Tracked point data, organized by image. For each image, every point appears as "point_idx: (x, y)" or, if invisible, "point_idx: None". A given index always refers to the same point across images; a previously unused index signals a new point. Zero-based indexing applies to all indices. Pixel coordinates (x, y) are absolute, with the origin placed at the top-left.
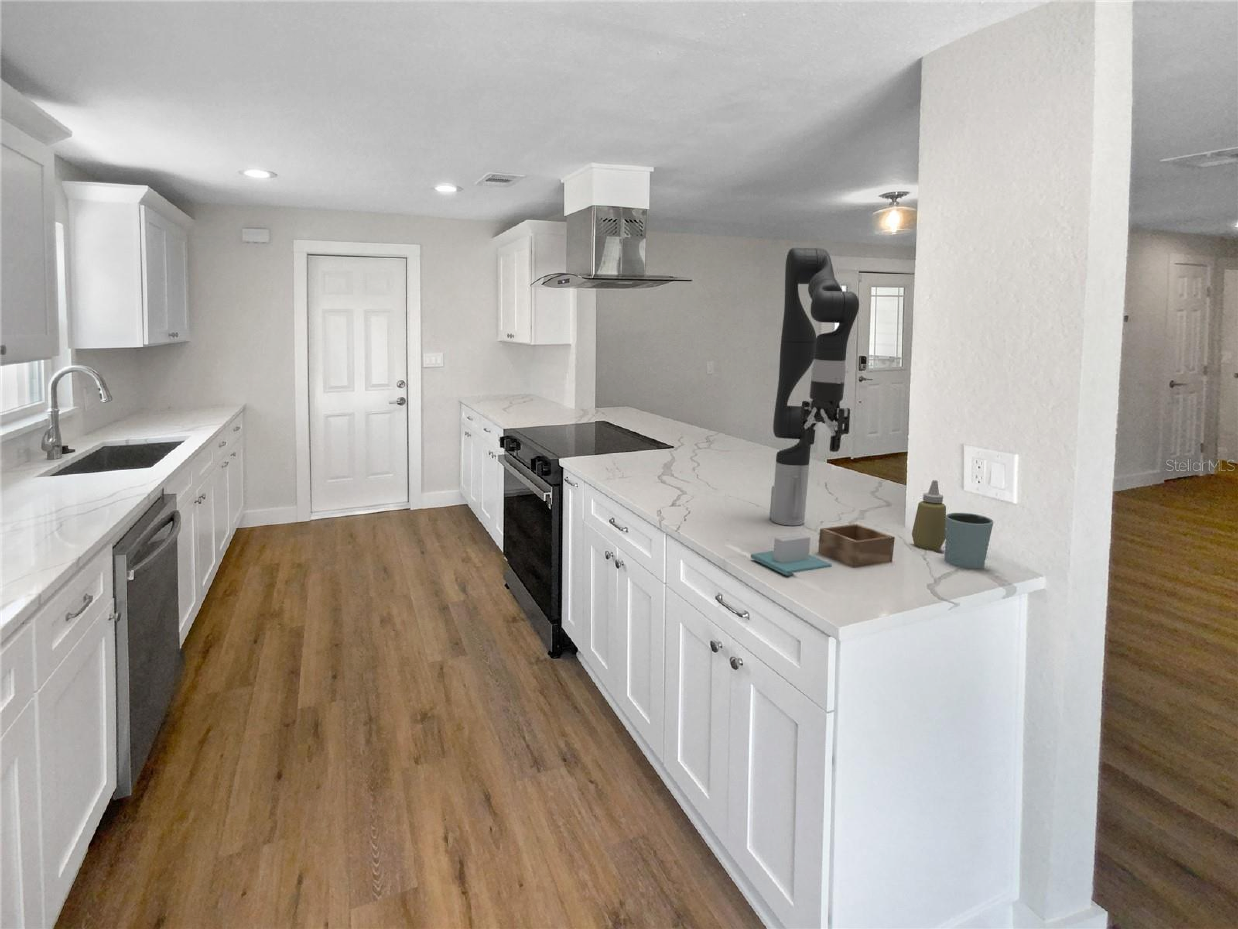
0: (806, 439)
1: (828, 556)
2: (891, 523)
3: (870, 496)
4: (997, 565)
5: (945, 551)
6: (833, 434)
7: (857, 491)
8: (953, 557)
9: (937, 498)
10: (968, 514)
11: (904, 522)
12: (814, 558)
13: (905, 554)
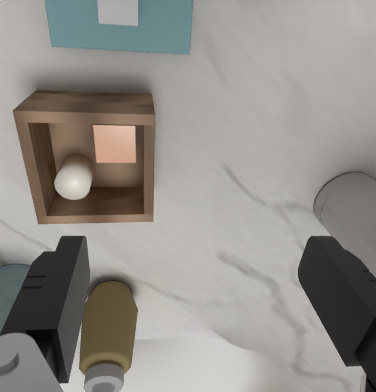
0: (337, 254)
1: (117, 96)
2: (235, 326)
3: (337, 373)
4: None
5: None
6: (5, 347)
7: None
8: (4, 278)
9: (85, 381)
10: None
11: (229, 342)
12: (103, 39)
13: (102, 251)
